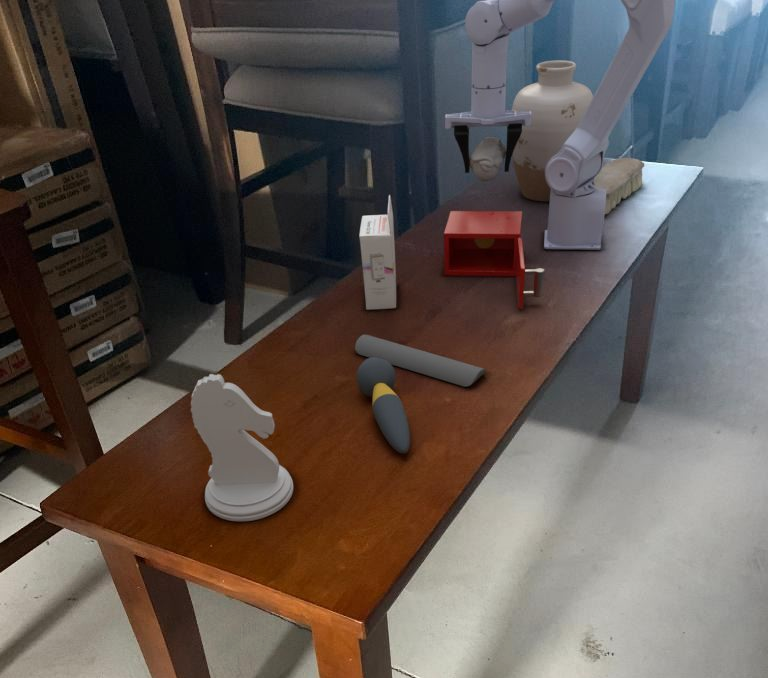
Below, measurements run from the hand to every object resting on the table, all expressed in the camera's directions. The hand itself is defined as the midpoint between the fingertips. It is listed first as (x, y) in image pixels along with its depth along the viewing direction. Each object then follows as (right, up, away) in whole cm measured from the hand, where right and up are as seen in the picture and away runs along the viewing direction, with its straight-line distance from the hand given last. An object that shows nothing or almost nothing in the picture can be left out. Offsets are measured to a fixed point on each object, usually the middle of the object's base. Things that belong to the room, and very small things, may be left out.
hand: (486, 170), depth 137 cm
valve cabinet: (-1, -19, -7) cm, 20 cm away
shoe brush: (+26, 0, +13) cm, 29 cm away
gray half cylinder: (-13, -41, -31) cm, 53 cm away
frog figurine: (0, -1, +1) cm, 2 cm away
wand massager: (-18, -49, -40) cm, 66 cm away
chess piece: (-33, -59, -51) cm, 85 cm away
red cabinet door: (+4, -26, -17) cm, 32 cm away
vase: (+14, +3, +18) cm, 23 cm away
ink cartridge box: (-19, -27, -15) cm, 36 cm away
